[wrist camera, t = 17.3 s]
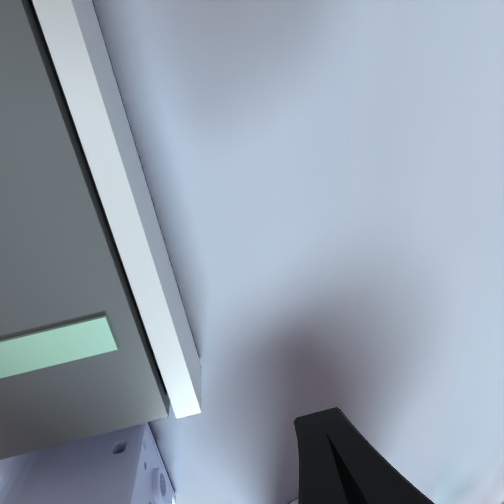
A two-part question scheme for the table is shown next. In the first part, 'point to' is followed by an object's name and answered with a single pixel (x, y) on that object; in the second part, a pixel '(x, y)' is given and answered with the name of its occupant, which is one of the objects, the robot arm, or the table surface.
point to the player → (58, 272)
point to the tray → (121, 189)
